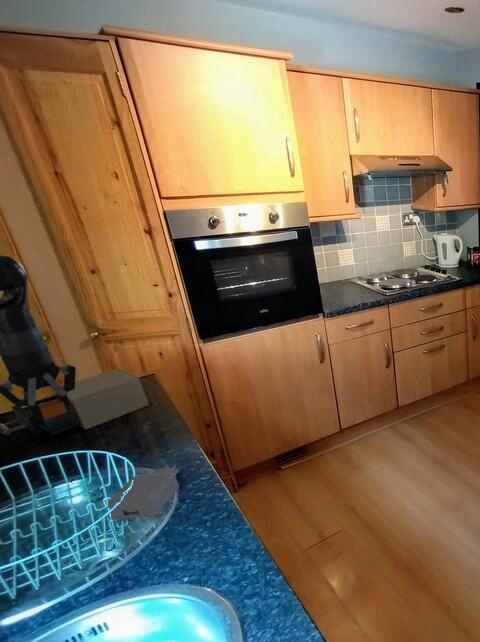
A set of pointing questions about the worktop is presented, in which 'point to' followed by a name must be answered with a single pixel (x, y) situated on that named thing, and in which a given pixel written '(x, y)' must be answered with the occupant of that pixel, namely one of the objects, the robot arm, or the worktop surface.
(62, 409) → the orange lobed block
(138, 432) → the worktop surface
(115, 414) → the grey sloped box
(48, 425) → the dark drawer with handle
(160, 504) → the charger
